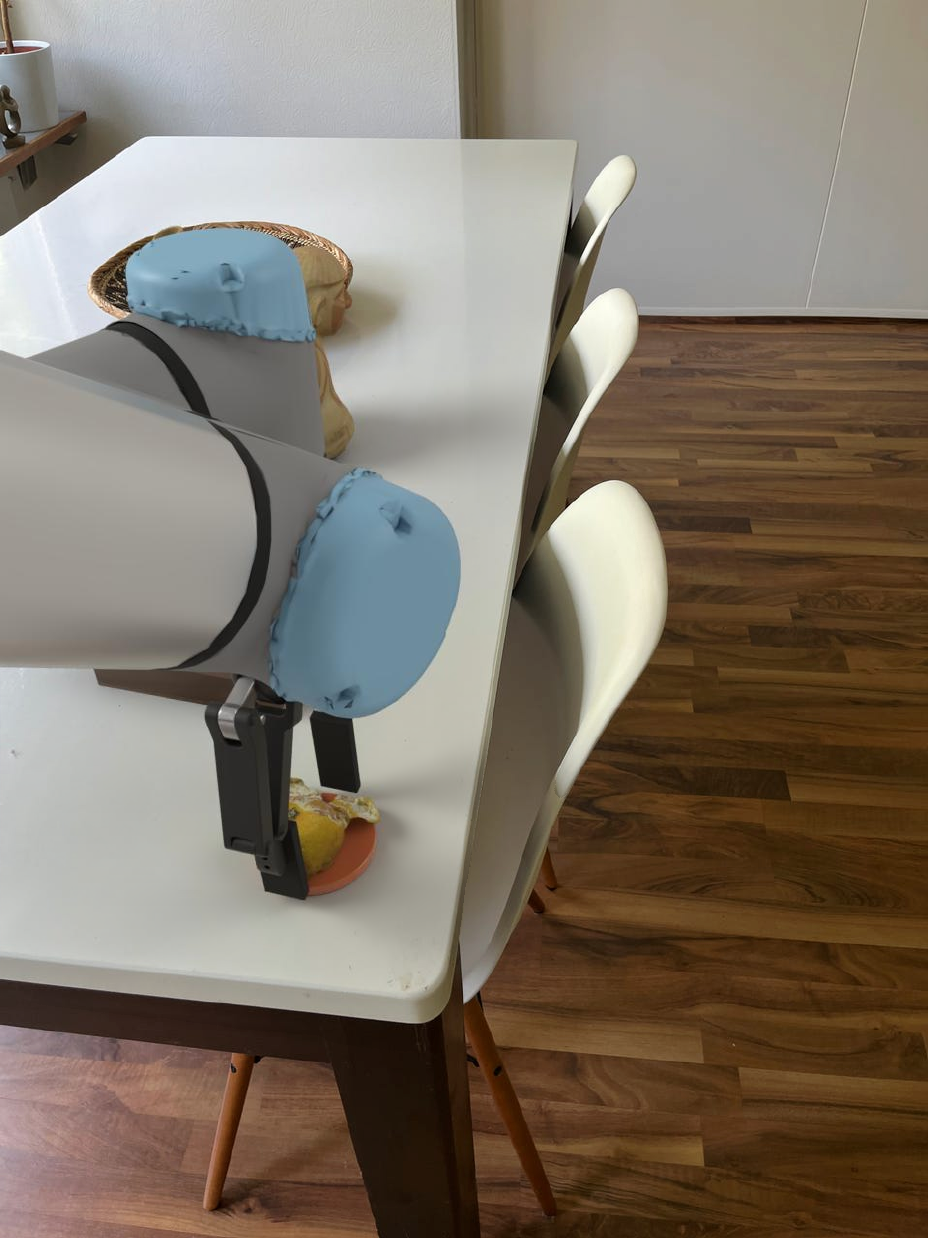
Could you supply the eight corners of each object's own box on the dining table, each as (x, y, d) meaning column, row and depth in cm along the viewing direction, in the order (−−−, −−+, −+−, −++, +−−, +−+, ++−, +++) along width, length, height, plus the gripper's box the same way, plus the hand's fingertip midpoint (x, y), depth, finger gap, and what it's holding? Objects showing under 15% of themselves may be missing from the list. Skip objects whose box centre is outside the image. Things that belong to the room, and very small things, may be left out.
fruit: (390, 805, 67) (386, 767, 65) (339, 902, 61) (333, 864, 59) (281, 778, 69) (273, 740, 67) (221, 869, 63) (211, 831, 61)
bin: (277, 718, 75) (271, 685, 73) (98, 684, 79) (87, 652, 77) (384, 546, 94) (381, 516, 92) (235, 525, 98) (230, 496, 96)
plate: (351, 907, 62) (350, 899, 61) (234, 881, 63) (232, 872, 63) (393, 812, 68) (392, 805, 67) (285, 790, 70) (284, 783, 69)
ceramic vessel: (389, 463, 107) (371, 224, 92) (210, 505, 101) (159, 256, 86) (340, 402, 119) (316, 183, 104) (177, 436, 113) (127, 208, 98)
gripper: (240, 692, 42) (304, 990, 56) (399, 460, 58) (418, 736, 72) (86, 664, 44) (186, 960, 58) (282, 446, 60) (323, 718, 74)
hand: (315, 835), depth 65 cm, fingers closed on fruit, 8 cm apart
